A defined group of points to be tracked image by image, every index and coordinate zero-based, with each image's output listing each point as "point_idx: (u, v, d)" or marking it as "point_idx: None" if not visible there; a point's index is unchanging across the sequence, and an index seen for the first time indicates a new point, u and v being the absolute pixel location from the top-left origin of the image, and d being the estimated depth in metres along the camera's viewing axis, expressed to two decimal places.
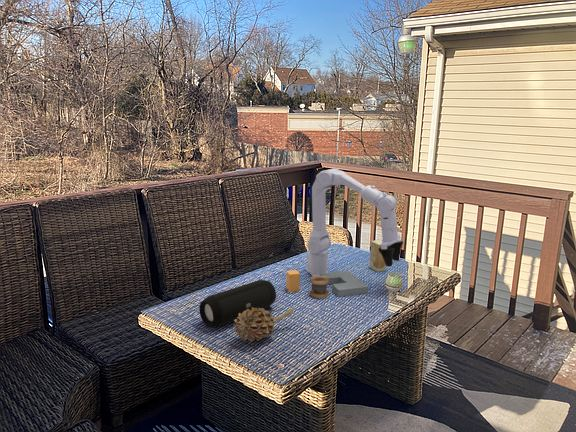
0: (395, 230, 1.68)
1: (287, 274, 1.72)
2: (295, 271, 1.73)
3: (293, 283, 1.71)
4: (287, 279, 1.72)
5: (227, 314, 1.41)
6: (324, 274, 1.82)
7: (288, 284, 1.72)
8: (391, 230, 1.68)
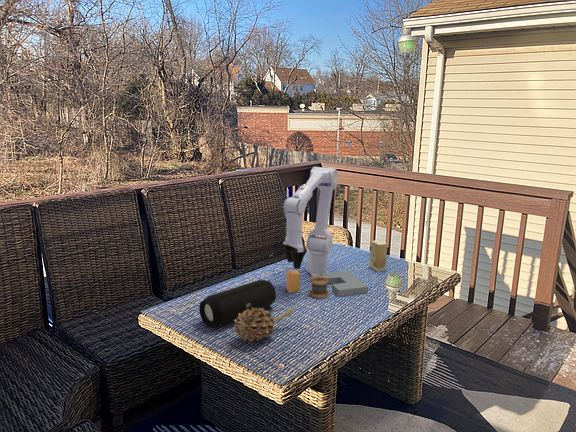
0: (286, 231, 1.68)
1: (287, 274, 1.72)
2: (295, 271, 1.73)
3: (293, 283, 1.71)
4: (287, 279, 1.72)
5: (227, 314, 1.41)
6: (324, 274, 1.82)
7: (288, 284, 1.72)
8: None
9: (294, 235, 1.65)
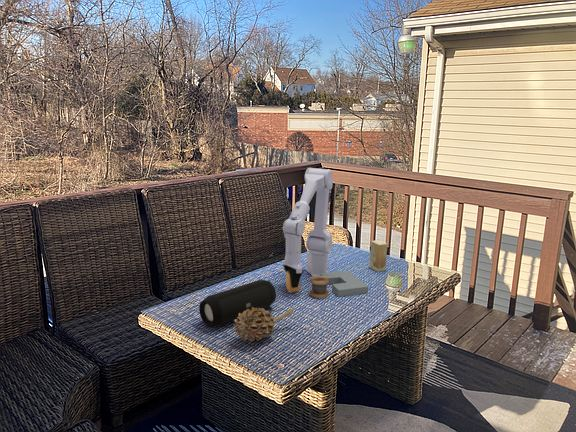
0: None
1: (287, 274, 1.72)
2: None
3: None
4: (287, 279, 1.72)
5: (227, 314, 1.42)
6: (324, 274, 1.82)
7: (288, 284, 1.72)
8: None
9: (293, 256, 1.67)
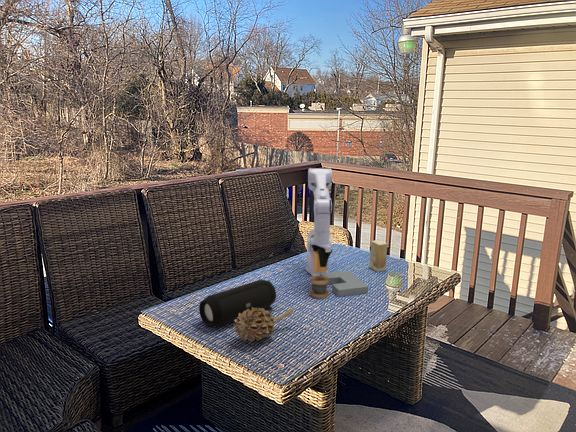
0: (314, 232, 1.72)
1: (315, 254, 1.74)
2: None
3: None
4: (314, 259, 1.74)
5: (226, 314, 1.42)
6: (324, 274, 1.82)
7: (315, 264, 1.74)
8: None
9: (322, 236, 1.69)
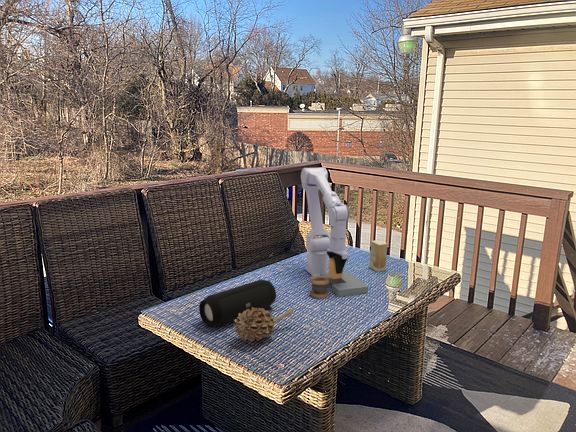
0: (330, 239, 1.72)
1: (330, 261, 1.74)
2: None
3: None
4: (330, 266, 1.74)
5: (226, 314, 1.42)
6: (324, 274, 1.82)
7: (331, 271, 1.74)
8: None
9: (338, 243, 1.70)
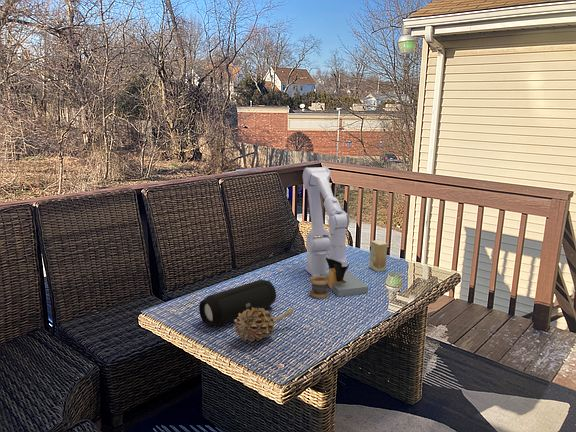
0: (330, 246, 1.73)
1: (330, 271, 1.75)
2: None
3: (336, 280, 1.74)
4: (330, 276, 1.76)
5: (226, 314, 1.42)
6: (324, 274, 1.82)
7: (330, 281, 1.75)
8: None
9: (338, 250, 1.70)
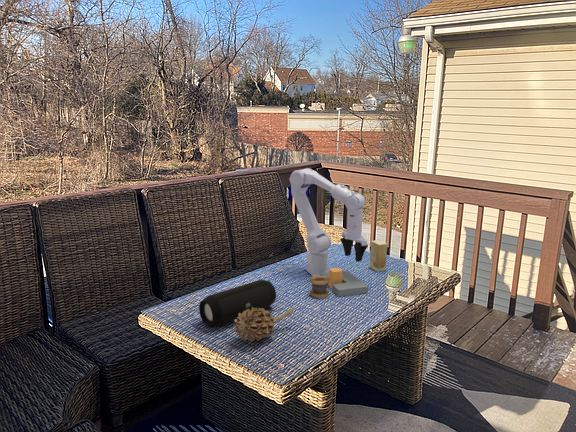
0: (347, 227, 1.77)
1: (330, 271, 1.75)
2: (337, 269, 1.76)
3: (336, 280, 1.74)
4: (330, 276, 1.76)
5: (226, 314, 1.42)
6: (324, 274, 1.82)
7: (330, 281, 1.75)
8: None
9: (356, 230, 1.75)
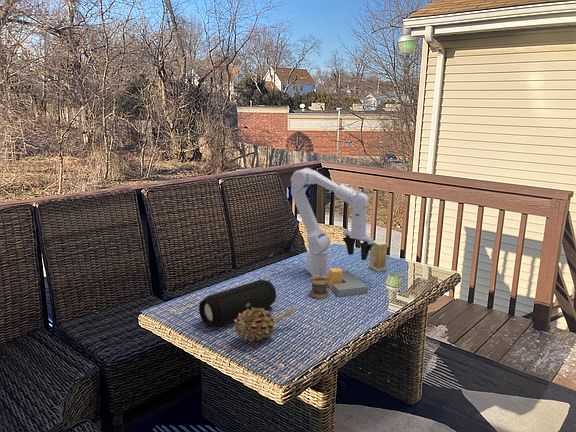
0: (352, 226, 1.79)
1: (330, 271, 1.75)
2: (337, 269, 1.76)
3: (336, 280, 1.74)
4: (330, 276, 1.76)
5: (226, 314, 1.42)
6: (324, 274, 1.82)
7: (330, 281, 1.75)
8: (351, 224, 1.80)
9: (362, 229, 1.77)
